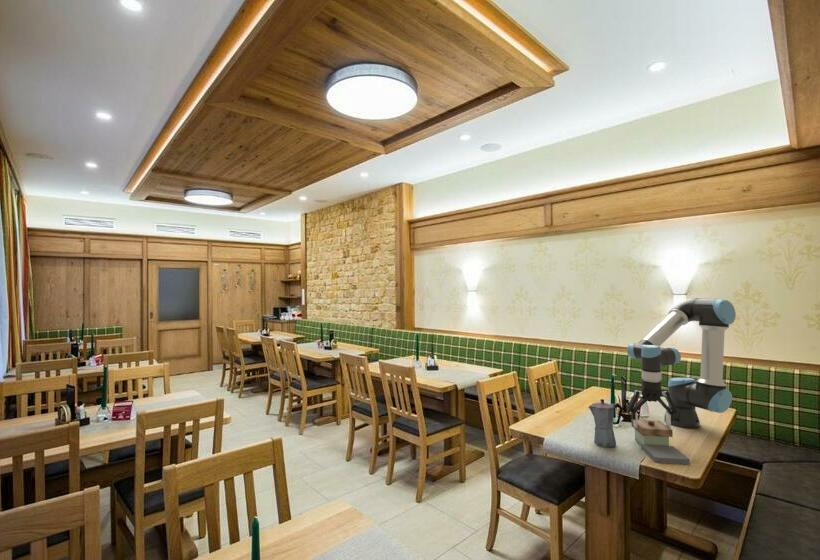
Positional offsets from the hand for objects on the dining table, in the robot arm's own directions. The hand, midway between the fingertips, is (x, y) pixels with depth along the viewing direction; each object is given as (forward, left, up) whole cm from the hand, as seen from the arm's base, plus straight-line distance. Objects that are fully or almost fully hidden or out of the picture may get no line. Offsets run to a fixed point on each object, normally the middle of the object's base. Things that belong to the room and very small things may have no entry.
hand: (652, 427), depth 179 cm
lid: (0, 0, -1) cm, 2 cm away
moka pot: (+20, +2, -8) cm, 22 cm away
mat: (0, +12, -7) cm, 14 cm away
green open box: (0, 0, -7) cm, 8 cm away
